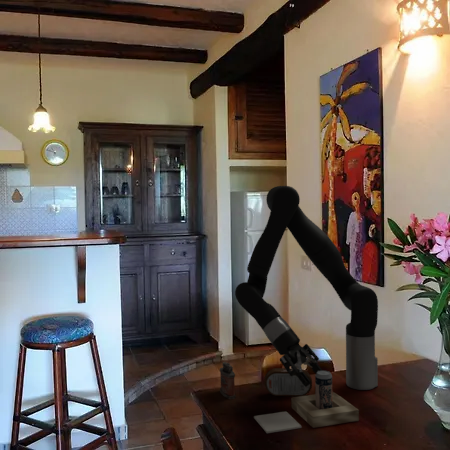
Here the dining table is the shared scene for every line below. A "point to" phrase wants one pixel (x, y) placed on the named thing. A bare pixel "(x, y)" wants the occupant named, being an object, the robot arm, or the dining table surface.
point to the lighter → (227, 381)
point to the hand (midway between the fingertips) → (315, 380)
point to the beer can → (323, 390)
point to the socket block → (325, 411)
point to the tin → (285, 383)
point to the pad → (277, 422)
